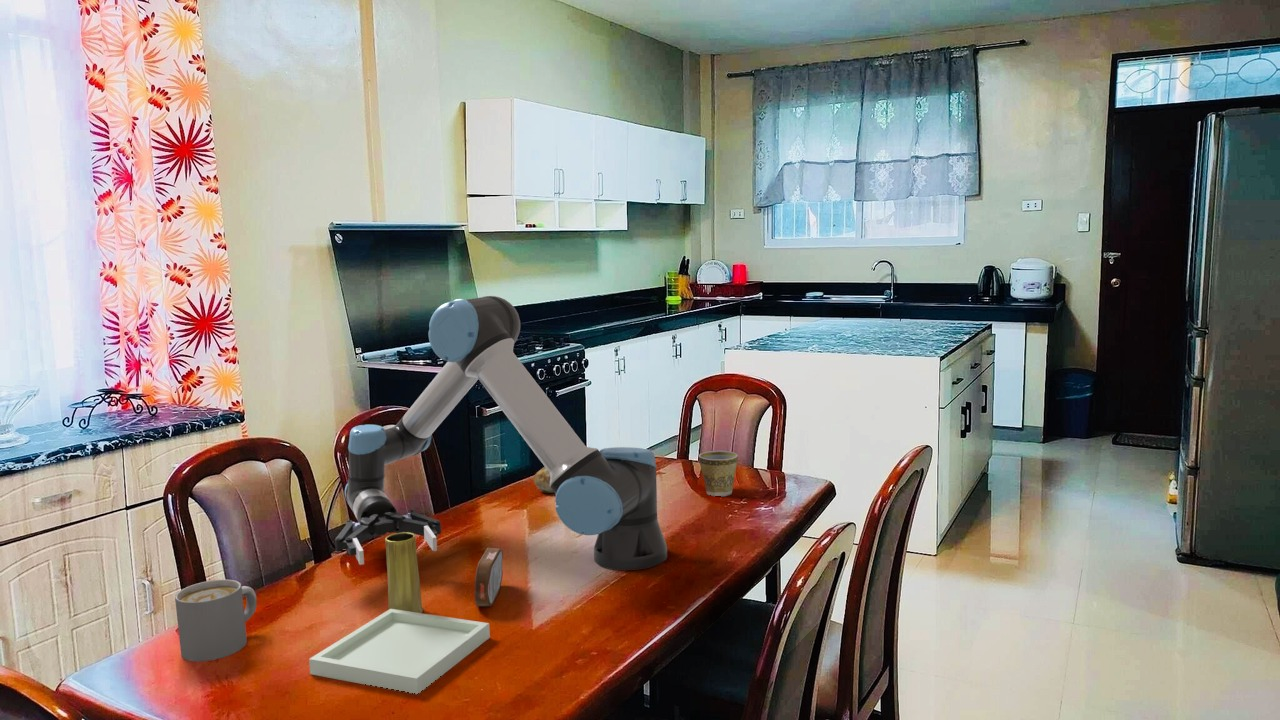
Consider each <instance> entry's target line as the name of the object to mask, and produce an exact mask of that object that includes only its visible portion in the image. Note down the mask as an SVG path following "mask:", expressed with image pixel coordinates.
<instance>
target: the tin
mask: <svg viewBox="0 0 1280 720" xmlns="http://www.w3.org/2000/svg"><path fill="white" fill-rule="evenodd" d="M503 557H504V552H503V550H502V549H501V548H496V547H495V548H494V547H487V548H486V549H485V551H484V553H483V554H482V556H481V558H480V559H479V561H478V563H477V566H476V570H475V577H474V578H475V579H474V587H473V588H474V603H475V607H488V608H489V607H491V606H492V605H493V604H494V602H495V600H496V598H497V597H498V594H499V592H500V590H501V586H502V583H503Z"/></svg>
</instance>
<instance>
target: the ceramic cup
mask: <svg viewBox="0 0 1280 720" xmlns="http://www.w3.org/2000/svg"><path fill="white" fill-rule="evenodd" d="M698 461H699V465H700V469H701V472H702V476H703V481H704V488H705V490H706V495H708V496H710V495H711V497H715V496H721V497H727V496H730V495H732V493H733V489H734V482H735V481H734V480H735V475H736V469H737V464H738V454H737V453H736V452H734V451H729V450H728V451H727V450H711V451H710V450H709V451H704V452H702V453H700V454H698Z"/></svg>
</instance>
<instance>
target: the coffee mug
mask: <svg viewBox="0 0 1280 720" xmlns="http://www.w3.org/2000/svg"><path fill="white" fill-rule="evenodd" d="M243 597H245V600H246V605H245V606H244V599H243ZM174 600H175V601H174V603H175V610H176V611H175V612H176V619H177V629H178V631H177V632H178V638H179V647H180V655H181V657H182V659H184V660H186V661H189V662H198V663H199V662H200V663H201V662H209V661H216V660H220V659H223V658H226V657H229V656H231V655H234V654H236V653H237V652H239V651H241V650H242V649H243V648H245V646H247V643H248V640H247V631H246V630H247V628H246V622H247V621H249V619H251V618H252V616H253V615H254V614H255V612H256V610H257V603H258V602H257V601H258V600H257V594H256V592H255V590H254V589H253V588H252V587H250V586H246V585H243V586H242V584H241V582H239V581H237V580H234V579H224V578H223V579H214V580H213V579H212V580H207V581H201V582H199V583H195V584H192V585H188V586H186V587H185V588H182V589H181V590H179V591H178V592H177V593H176V594H175V597H174ZM244 607H245V609H244Z"/></svg>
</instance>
